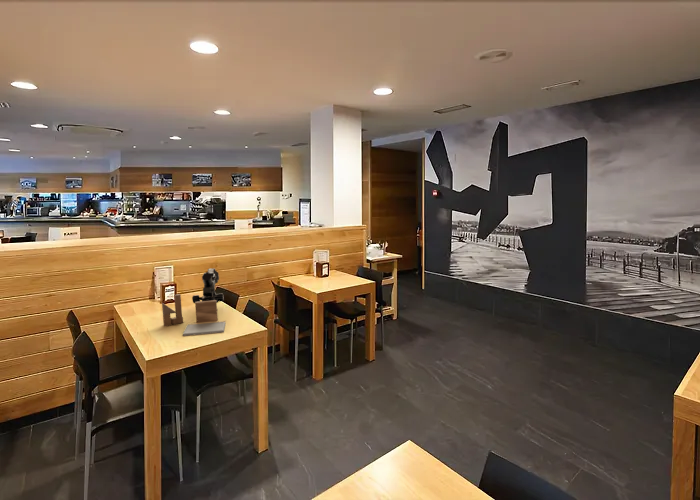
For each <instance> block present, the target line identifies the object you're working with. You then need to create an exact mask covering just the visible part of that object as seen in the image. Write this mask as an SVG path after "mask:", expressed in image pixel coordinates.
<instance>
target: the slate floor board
mask: <svg viewBox="0 0 700 500" xmlns="http://www.w3.org/2000/svg"><path fill="white" fill-rule="evenodd" d="M226 321H227V320H218V321H215V322H203V323H197V322H193V323H187V325H186V326H185V328H184V331H183V333H182V336H184V337H185V336H196V335H209V334H219V333H224V332H225V328H226Z"/></svg>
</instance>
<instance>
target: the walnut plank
mask: <svg viewBox="0 0 700 500" xmlns="http://www.w3.org/2000/svg"><path fill="white" fill-rule="evenodd" d="M194 304H195V318H196V323H203V322H215V321H219V320H218V319H219V318H218V310H217V309H218V306H217V304H218V303H217V302H216V300H211V301H202V300H200V301H197V302H195V303H194Z"/></svg>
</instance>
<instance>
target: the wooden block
mask: <svg viewBox="0 0 700 500" xmlns="http://www.w3.org/2000/svg"><path fill="white" fill-rule="evenodd" d="M181 295H182V294H180V293H177V294H174V309H175V310H173V309H172V308H171V307H170V306H168V305H166V304H165V303H163V302H161V307H162V319H163V321H162V322H163V326H164V327H168V326H172V325H178V324H183V323H184V317H183V311H182V310H183V309H182V296H181ZM172 314H175V317H171V315H172Z"/></svg>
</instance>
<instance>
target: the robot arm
mask: <svg viewBox="0 0 700 500" xmlns="http://www.w3.org/2000/svg"><path fill="white" fill-rule="evenodd" d="M201 279H202V283H203V287H202V296H200V295H199V294H196V295H192V297H191V300H192V303H193V304H195V302H197V301H211V300H216V302H217V304H218V303H219V302H224V300H225V298H224V294H223V293H216V289H215V288H216V284H218V283H219V281H220V275H219V272H218V271H217V270H216V268H208V269H207V271H206V272H204V273H203V274H202V275H201ZM217 311H218V308H217Z"/></svg>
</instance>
